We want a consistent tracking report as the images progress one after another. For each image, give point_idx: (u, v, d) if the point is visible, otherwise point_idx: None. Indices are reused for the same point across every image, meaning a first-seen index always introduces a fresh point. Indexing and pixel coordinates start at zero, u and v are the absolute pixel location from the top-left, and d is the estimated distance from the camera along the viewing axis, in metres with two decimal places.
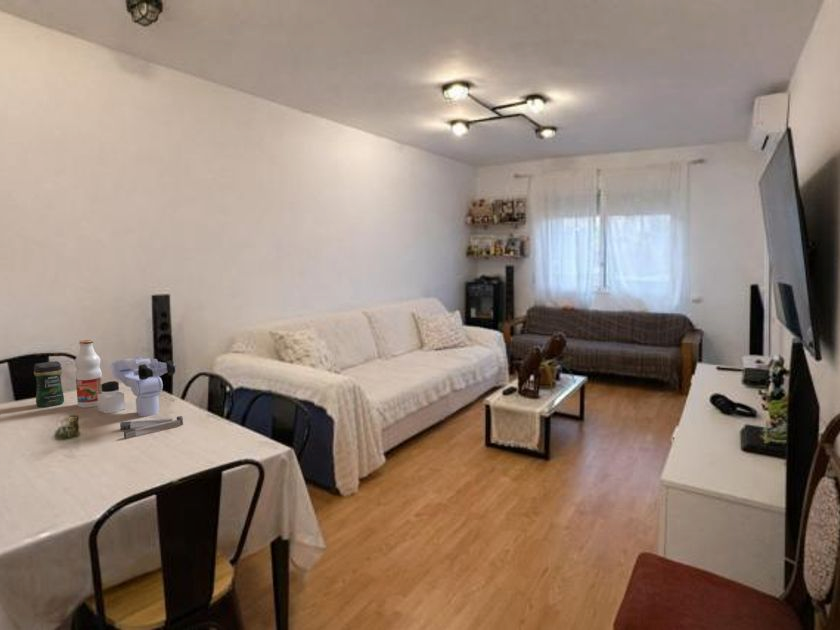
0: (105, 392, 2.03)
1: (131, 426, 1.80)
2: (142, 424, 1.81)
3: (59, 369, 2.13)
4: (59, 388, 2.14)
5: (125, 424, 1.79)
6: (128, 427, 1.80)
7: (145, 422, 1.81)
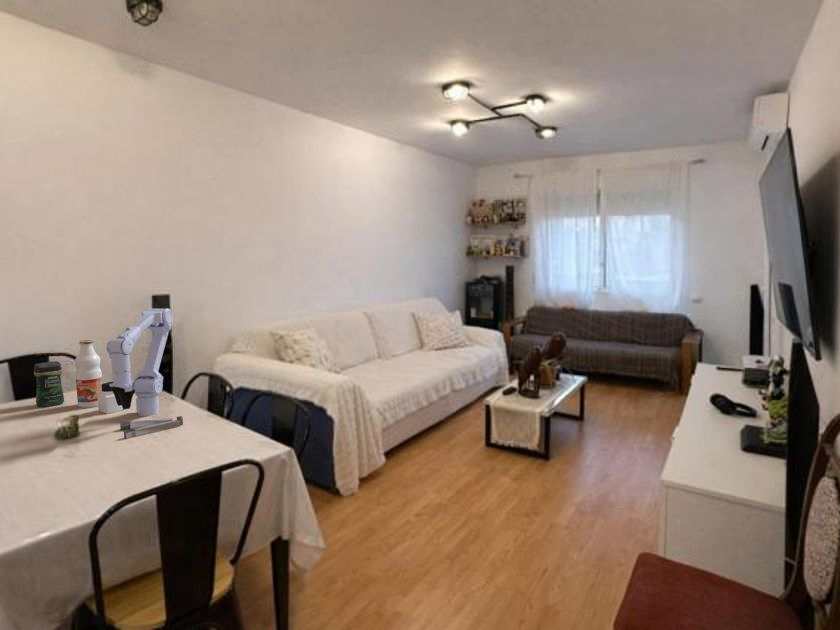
0: (105, 392, 2.03)
1: (131, 426, 1.80)
2: (142, 424, 1.81)
3: (59, 369, 2.13)
4: (59, 388, 2.14)
5: (125, 424, 1.79)
6: (128, 427, 1.80)
7: (145, 422, 1.81)
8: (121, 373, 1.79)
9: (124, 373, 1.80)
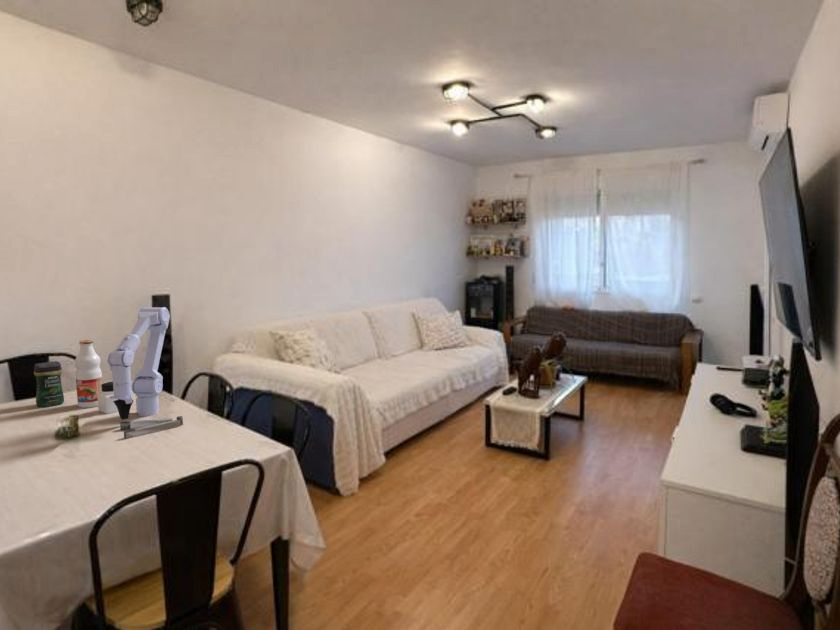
0: (105, 392, 2.03)
1: (131, 426, 1.80)
2: (142, 424, 1.81)
3: (59, 369, 2.13)
4: (59, 388, 2.14)
5: (125, 424, 1.79)
6: (128, 427, 1.80)
7: (145, 422, 1.81)
8: (122, 385, 1.80)
9: (124, 385, 1.80)
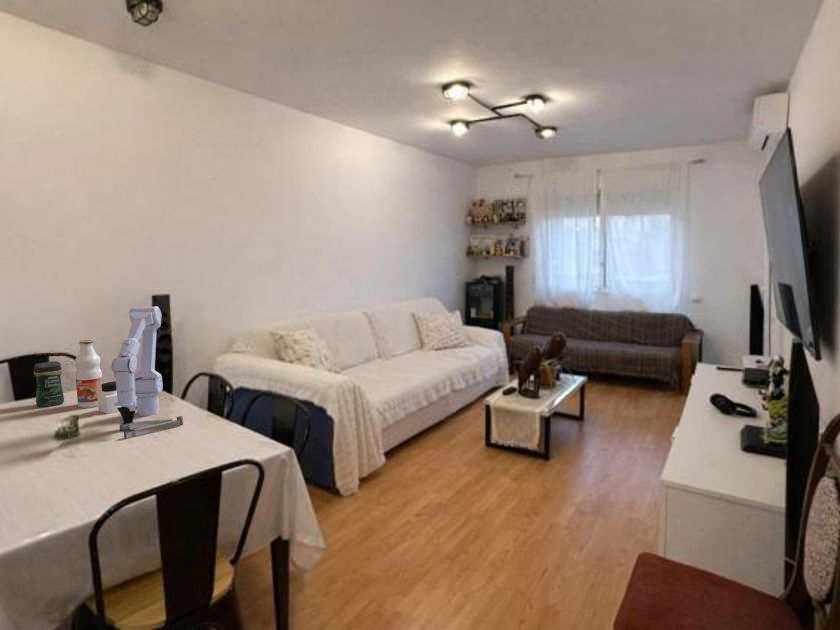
0: (105, 392, 2.03)
1: (131, 427, 1.79)
2: (142, 425, 1.80)
3: (59, 369, 2.13)
4: (59, 388, 2.14)
5: (124, 425, 1.78)
6: (128, 428, 1.79)
7: (145, 422, 1.80)
8: (126, 392, 1.77)
9: (128, 392, 1.78)
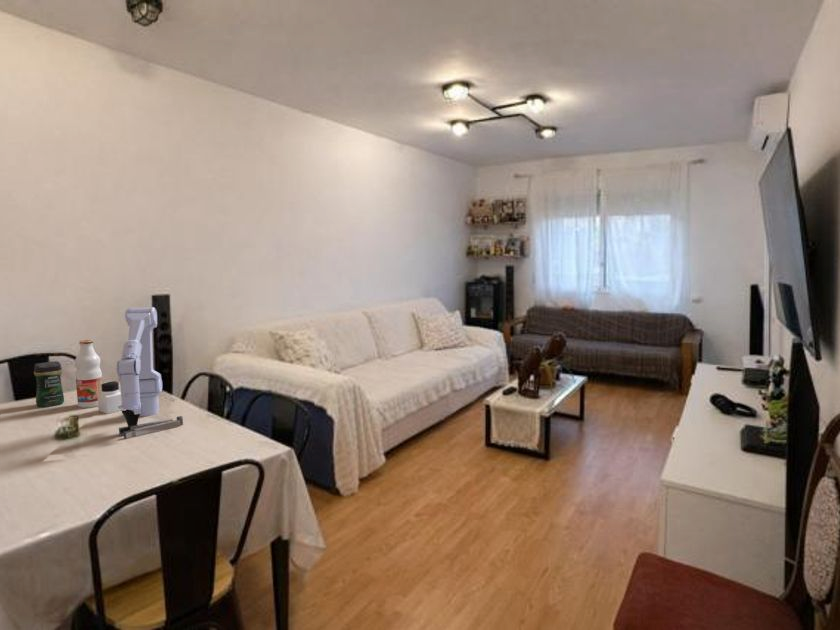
0: (105, 392, 2.03)
1: None
2: (142, 427, 1.77)
3: (59, 369, 2.13)
4: (59, 388, 2.14)
5: (125, 429, 1.74)
6: None
7: (145, 424, 1.78)
8: (130, 395, 1.74)
9: (133, 395, 1.74)
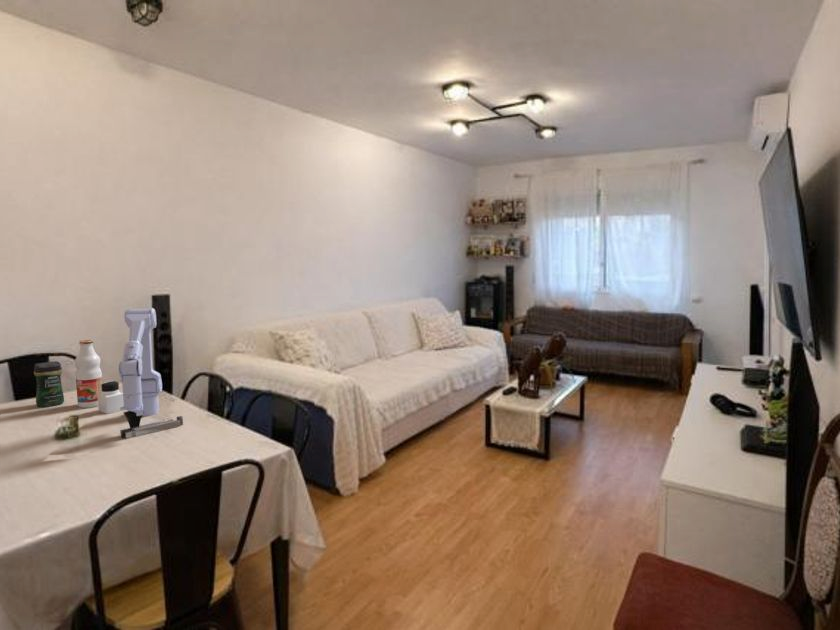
0: (105, 392, 2.03)
1: None
2: None
3: (59, 369, 2.13)
4: (59, 388, 2.14)
5: None
6: None
7: (147, 425, 1.77)
8: (132, 396, 1.72)
9: (135, 396, 1.73)
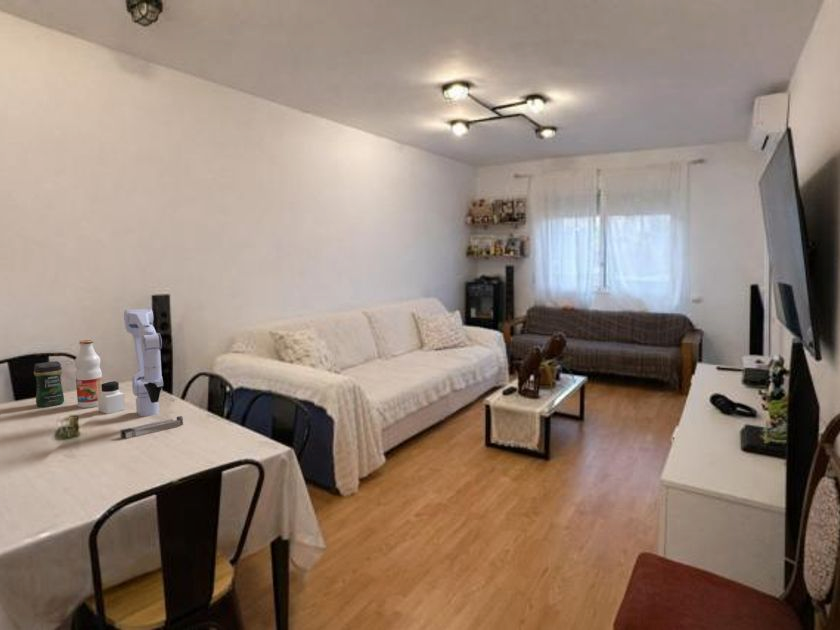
0: (105, 392, 2.03)
1: None
2: None
3: (59, 369, 2.13)
4: (59, 388, 2.14)
5: None
6: None
7: (147, 425, 1.77)
8: (152, 368, 1.82)
9: (155, 369, 1.83)
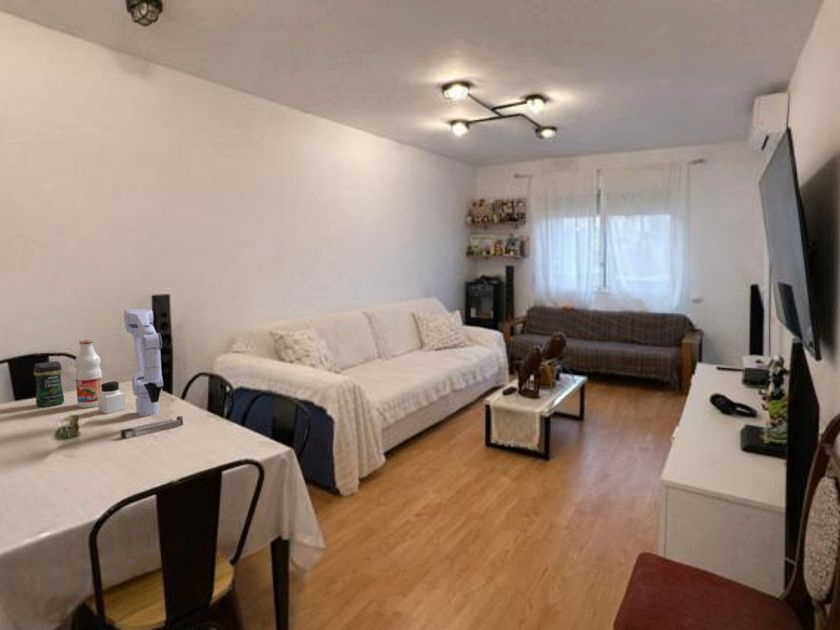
0: (105, 392, 2.03)
1: None
2: None
3: (59, 369, 2.13)
4: (59, 388, 2.14)
5: None
6: None
7: (147, 425, 1.77)
8: (153, 368, 1.82)
9: (155, 369, 1.83)
